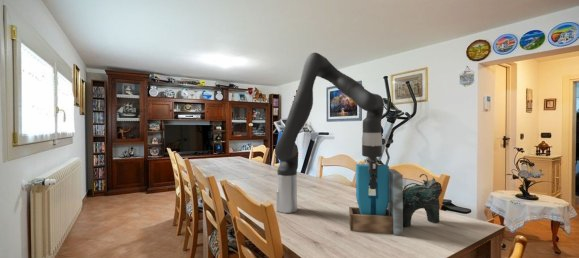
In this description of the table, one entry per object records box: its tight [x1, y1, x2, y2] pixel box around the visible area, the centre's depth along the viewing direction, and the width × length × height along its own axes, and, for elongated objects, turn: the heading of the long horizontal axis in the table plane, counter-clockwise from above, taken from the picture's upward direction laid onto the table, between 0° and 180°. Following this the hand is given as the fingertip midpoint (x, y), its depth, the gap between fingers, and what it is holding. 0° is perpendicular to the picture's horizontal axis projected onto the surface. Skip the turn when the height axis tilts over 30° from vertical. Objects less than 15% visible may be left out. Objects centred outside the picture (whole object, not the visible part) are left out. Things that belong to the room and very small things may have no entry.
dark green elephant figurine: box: [403, 173, 443, 228], centre depth 108 cm, size 20×6×20 cm, turn 108°
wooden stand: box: [348, 168, 404, 237], centre depth 105 cm, size 18×14×22 cm
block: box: [355, 163, 390, 216], centre depth 105 cm, size 12×5×20 cm, turn 83°
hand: (372, 187), depth 105 cm, fingers closed on block, 5 cm apart
